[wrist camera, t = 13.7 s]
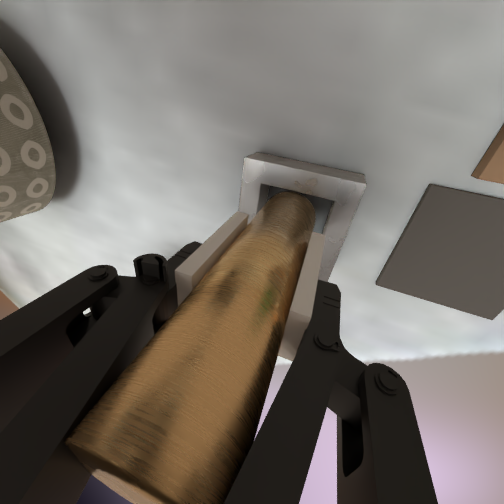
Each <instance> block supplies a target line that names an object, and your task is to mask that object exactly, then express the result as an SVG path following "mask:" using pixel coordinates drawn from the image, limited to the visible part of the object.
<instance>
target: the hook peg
mask: <svg viewBox="0 0 504 504" xmlns="http://www.w3.org/2000/svg"><path fill="white" fill-rule="evenodd" d="M315 220H316V214H315V210H314V207H313V205H312V204H311V202H310V201H309V200H308V199H307V198H306V197H305V196H303V195H301V194H299V193H296V192H292V191H285V192H280V193H278V194H276V195H274V196H273V197H271V198H270V199H269V200H268V202H267V203H266V204H265V205H264V206H263V207H262V209H261V210H260V211H259V212H258V213H257V215H256V216H255V217H254V218H253V219H252V220H251V222H250V223H249V224H248V225H247V226H246V228H245V229H244V230H243V231H242V232H241V233H240V235H239V236H238V237H237V238H236V239H235V241H234V242H233V243H232V244H231V245H230V246H229V248H228V249H227V250H226V251H225V252H224V253H223V255H222V256H221V257H220V258H219V259H218V261H217V262H216V263H215V264H214V265H213V266H212V268H211V269H210V270H209V271H208V272H207V274H206V275H205V276H204V277H203V278H202V279H201V281H200V282H199V283H198V284H197V285H196V286H195V288H194V289H193V290H192V291H191V292H190V294H189V295H188V296H187V297H186V298H185V299H184V301H183V302H182V303H181V304H180V305H179V307H178V308H177V309H176V310H175V311H174V312H173V314H172V315H171V316H170V317H169V318H168V319H167V321H166V322H165V323H164V324H163V325H162V327H161V328H160V329H159V330H158V331H157V332H156V334H155V335H154V336H153V337H152V338H151V340H150V341H149V342H148V343H147V344H146V345H145V347H144V348H143V349H142V350H141V351H140V353H139V354H138V355H137V356H136V357H135V358H134V360H133V361H132V362H131V363H130V364H129V365H128V367H127V368H126V369H125V370H124V371H123V373H122V374H121V375H120V376H119V377H118V378H117V380H116V381H115V382H114V383H113V384H112V386H111V387H110V388H109V389H108V390H107V391H106V393H105V394H104V395H103V396H102V397H101V398H100V400H99V401H98V402H97V403H96V404H95V406H94V407H93V408H92V409H91V410H90V411H89V413H88V414H87V415H86V416H85V417H84V419H83V420H82V421H81V422H80V423H79V424H78V426H77V427H76V428H75V429H74V430H73V431H72V433H71V434H70V435H69V436H68V438H67V439H66V440H65V441H64V443H65V444H66V445H67V447H68V448H69V449H70V450H71V451H72V452H73V454H74V455H75V456H76V457H77V458H78V460H79V461H80V462H81V463H82V464H83V465H84V467H85V468H86V469H87V470H88V471H89V472H90V473H91V474H92V475H93V476H95V477H96V478H97V479H98V480H100V481H101V482H102V483H104V484H105V485H107V486H108V487H109V488H111V489H112V490H114V491H115V492H117V493H118V494H119V495H121V496H122V497H124V498H125V499H127V500H128V501H130V502H132V503H133V504H224V502H225V500H226V498H227V496H228V494H229V492H230V490H231V488H232V486H233V484H234V481H235V479H236V477H237V475H238V473H239V471H240V469H241V467H242V465H243V463H244V461H245V459H246V457H247V455H248V453H249V451H250V449H251V446H252V444H253V442H254V438H255V435H256V431H257V428H258V424H259V421H260V417H261V413H262V409H263V406H264V403H265V399H266V396H267V392H268V388H269V385H270V381H271V378H272V374H273V371H274V367H275V364H276V360H277V356H278V353H279V349H280V346H281V342H282V339H283V335H284V330H285V325H286V321H287V318H288V314H289V311H290V307H291V304H292V300H293V297H294V293H295V290H296V286H297V283H298V279H299V276H300V272H301V269H302V265H303V262H304V258H305V255H306V251H307V248H308V244H309V241H310V238H311V235H312V232H313V228H314V225H315Z"/></svg>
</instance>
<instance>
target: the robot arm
mask: <svg viewBox="0 0 504 504" xmlns="http://www.w3.org/2000/svg"><path fill="white" fill-rule="evenodd" d="M248 216H249V214H245V213H242V212H238V211H237V212H236V213H235V214H234V215H233V216H232V217H231V218H230V219H229V220H228V221H226V222H225V223H224V224H223V225H222V226H221V227H220V228H219V229H218V230H217V231H216V232H215V233H214V234H213V235H212V236H211V237H209V238H208V239H207V240H206V241H205V242H204V243H203V244H201V243H198V242H192V243H190V244H187V245H185V246H184V247H183V248H182V249H181V250H180V251H178V252H177V253H176V254H175V255H174V256H173V257H171V258H170V259H169V260H168V261H166V258H164V257H163V256H161V255H158V254H145V255H142V256H139V257H137V258H136V259H134V260H133V262H134V267H135V273H136V277H130V276H118V274H117V270H116V268H114V267H113V266H109V265H98V266H94V267H91V268H89V269H87V270H85V271H83V272H82V273H80V274H78V275H76V276H75V277H73V278H71V279H70V280H68V281H66V282H64V283H63V284H61V285H59V286H58V287H56V288H54V289H53V290H51V291H49V292H47V293H46V294H44V295H42V296H41V297H39V298H37V299H36V300H34V301H32V302H30V303H29V304H27V305H25V306H24V307H22V308H20V309H19V310H17V311H15V312H13V313H12V314H10V315H9V316H7V317H5V318H3V319H2V320H0V504H76V502H77V501H78V499H79V497H80V495H81V493H82V491H83V489H84V487H85V486H86V484H87V482H88V480H89V478H90V476H91V473H90V472H89V471H88V470H87V469H86V468H85V467H84V465H83V464H82V463H81V462H80V461H79V460H78V458H77V457H76V456H75V455H74V454H73V452H72V451H71V450H70V449H69V448H68V447H67V445H66V444H65V443H64V441H65V440H66V439H67V438H68V436H69V435H70V434H71V433H72V431H73V430H74V429H75V428H76V427H77V426H78V424H79V423H80V422H81V421H82V420H83V419H84V417H85V416H86V415H87V414H88V413H89V411H90V410H91V409H92V408H93V407H94V406H95V404H96V403H97V402H98V401H99V400H100V398H101V397H102V396H103V395H104V394H105V393H106V391H107V390H108V389H109V388H110V387H111V386H112V384H113V383H114V382H115V381H116V380H117V378H118V377H119V376H120V375H121V374H122V373H123V371H124V370H125V369H126V368H127V367H128V365H129V364H130V363H131V362H132V361H133V360H134V358H135V357H136V356H137V355H138V354H139V353H140V351H141V350H142V349H143V348H144V347H145V345H146V344H147V343H148V342H149V341H150V340H151V338H152V337H153V336H154V335H155V334H156V332H157V331H158V330H159V329H160V328H161V327H162V325H163V324H164V323H165V322H166V321H167V319H168V318H169V317H170V316H171V315H172V314H173V312H174V311H175V310H176V309H177V308H178V307H179V305H180V304H181V303H182V302H183V301H184V299H185V298H186V297H187V296H188V295H189V294H190V292H191V291H192V290H193V289H194V288H195V286H196V285H197V284H198V283H199V282H200V281H201V279H202V278H203V277H204V276H205V275H206V274H207V272H208V271H209V270H210V269H211V268H212V266H213V265H214V264H215V263H216V262H217V261H218V259H219V258H220V257H221V256H222V255H223V253H224V252H225V251H226V250H227V249H228V248H229V246H230V245H231V244H232V243H233V242H234V241H235V239H236V238H237V237H238V236H239V235H240V233H241V232H242V231H243V230H244V229H245V228H246V226H247V223H248ZM324 241H325V235H323V234H319V233H316V232H312V235H311V238H310V241H309V244H308V248H307V251H306V255H305V258H304V262H303V265H302V269H301V272H300V276H299V279H298V283H297V286H296V290H295V293H294V297H293V300H292V304H291V307H290V311H289V314H288V318H287V321H286V325H285V330H284V335H283V339H282V342H281V346H280V349H279V353H278V356H280V357H283V358H285V359H288V360H291V361H293V362H292V364H291V366H290V368H289V370H288V372H287V374H286V376H285V379H284V381H283V383H282V385H281V387H280V389H279V391H278V393H277V395H276V397H275V399H274V402H273V403H272V405H271V407H270V409H269V411H268V414H267V416H266V418H265V420H264V422H263V424H262V426H261V428H260V430H259V432H258V434H257V436H256V438H255V440H254V442H253V444H252V446H251V449H250V451H249V453H248V455H247V457H246V459H245V461H244V463H243V465H242V467H241V469H240V471H239V473H238V475H237V477H236V479H235V481H234V484H233V486H232V488H231V490H230V492H229V494H228V496H227V498H226V500H225V502H224V504H299V501H300V498H301V494H302V491H303V488H304V484H305V481H306V477H307V474H308V470H309V467H310V463H311V460H312V457H313V453H314V450H315V446H316V443H317V439H318V436H319V432H320V429H321V426H322V422H323V419H324V415H325V412H326V408H327V407H328V408H329V409H330V410H332V411H333V412H334V413H336V414H337V504H438V502H437V498H436V494H435V490H434V486H433V482H432V478H431V474H430V471H429V467H428V463H427V459H426V455H425V451H424V447H423V443H422V439H421V435H420V431H419V428H418V424H417V420H416V416H415V412H414V408H413V404H412V400H411V397H410V392H409V390H408V387H407V385H406V383H405V381H404V380H403V379H402V377H401V376H400V375H399V374H398V373H397V372H395V371H394V370H393V369H392V368H390V367H388V366H386V365H384V364H380V363H372V364H369V365H368V366H367V365H365V364H364V363H362V362H361V361H359V360H358V359H356V358H355V357H354V356H352V355H351V354H350V353H349V352H348V351H347V350H346V349H345V348H344V346H343V344H342V341H341V339H340V335H339V331H340V304H341V303H340V301H341V292H340V290H339V288H338V286H337V285H336V284H332V283H329V282H326V281H323V280H319V279H318V276H319V270H320V264H321V259H322V253H323V247H324ZM88 308H90V310H91V312H89V313H87V314H85V315H84V314H83V311H85V310H86V309H88Z"/></svg>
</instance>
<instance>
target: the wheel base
mask: <svg viewBox="0 0 504 504" xmlns="http://www.w3.org/2000/svg"><path fill="white" fill-rule="evenodd" d="M471 176H473V177H475V178H477V179H481V180H486V181H491V182H496V183H501V184H504V125H503V126H502V128H501V129H500V131H499V133H498V134H497V136H496V137H495V139H494V140H493V142H492V144H491V145H490V147H489V148H488V150H487V151H486V153H485V155H484V156H483V158H482V159H481V161H480V163H479V164H478V166H477V167H476V169H475V170H474V172H473V174H472V175H471Z"/></svg>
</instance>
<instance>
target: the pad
mask: <svg viewBox="0 0 504 504" xmlns="http://www.w3.org/2000/svg"><path fill="white" fill-rule="evenodd" d="M376 285H378V286H381V287H385V288H388V289H391V290H394V291H398V292H401V293H404V294H408V295H411V296H414V297H417V298H421V299H424V300H427V301H431V302H434V303H437V304H441V305H444V306H447V307H450V308H454V309H457V310H460V311H464V312H467V313H470V314H473V315H477V316H480V317H483V318H487V319H490V320H493V319H494V318H495V317H496V316H497V315H498V314H499V313H500V312H501V311H502V310H503V309H504V199H501V198H496V197H491V196H486V195H481V194H477V193H472V192H467V191H462V190H457V189H453V188H448V187H443V186H438V185H433V184H429V186H428V188H427V189H426V191H425V193H424V195H423V197H422V199H421V200H420V202H419V204H418V206H417V208H416V209H415V211H414V213H413V215H412V217H411V219H410V220H409V222H408V224H407V226H406V228H405V230H404V231H403V233H402V235H401V237H400V239H399V240H398V242H397V244H396V246H395V248H394V250H393V251H392V253H391V255H390V257H389V259H388V260H387V262H386V264H385V266H384V268H383V270H382V271H381V273H380V275H379V277H378V279H377V281H376Z"/></svg>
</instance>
